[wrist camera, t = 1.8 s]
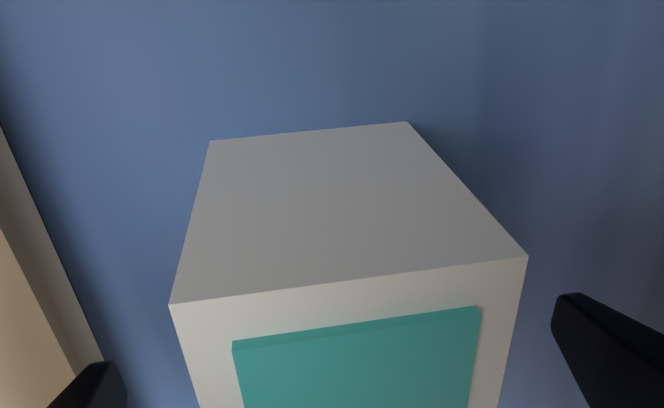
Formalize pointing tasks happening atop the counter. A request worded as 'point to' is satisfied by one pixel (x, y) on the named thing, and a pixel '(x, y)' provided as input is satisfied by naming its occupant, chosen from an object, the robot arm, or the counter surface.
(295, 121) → the counter surface
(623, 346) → the robot arm
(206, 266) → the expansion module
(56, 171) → the counter surface
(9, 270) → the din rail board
